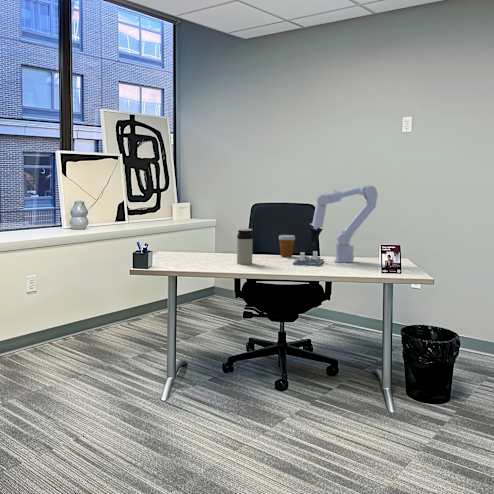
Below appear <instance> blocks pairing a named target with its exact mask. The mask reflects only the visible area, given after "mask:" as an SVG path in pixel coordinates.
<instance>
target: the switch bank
mask: <svg viewBox="0 0 494 494" xmlns="http://www.w3.org/2000/svg"><path fill="white" fill-rule="evenodd" d="M312 258H313V256H311V257H310V256H305V260H300V257H297V258H296V259H295V260H294V261H293V262H292V265H293V266H303V265H306V266H308V267H321V266H322V264H323V263H324V259H325V258H321V256H317V258H318V259H317V260H312Z"/></svg>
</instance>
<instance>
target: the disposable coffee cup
mask: <svg viewBox="0 0 494 494" xmlns="http://www.w3.org/2000/svg"><path fill="white" fill-rule="evenodd" d="M278 240H279V249H280V257H281V258H293V253H294V245H295V240H296V236H295V235H294V234H293V235H292V234H280V235H279V236H278Z"/></svg>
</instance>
